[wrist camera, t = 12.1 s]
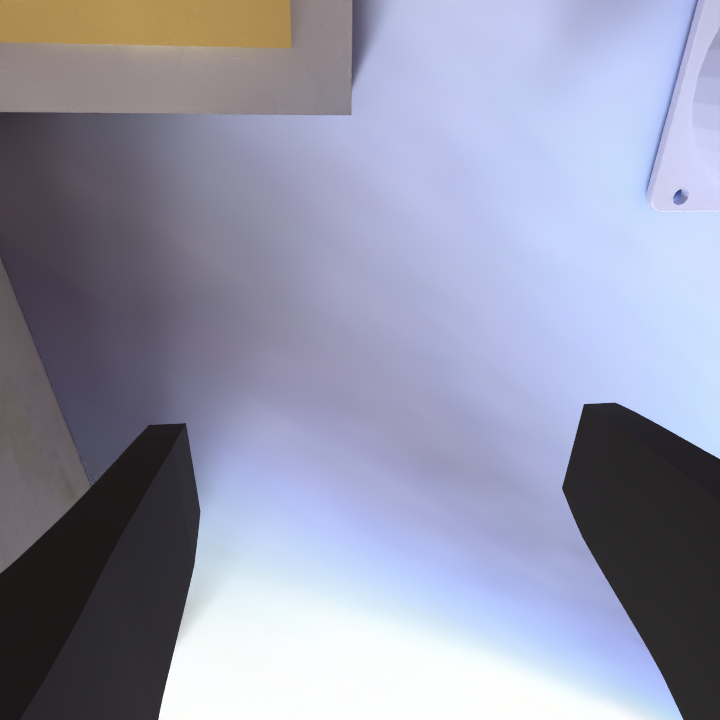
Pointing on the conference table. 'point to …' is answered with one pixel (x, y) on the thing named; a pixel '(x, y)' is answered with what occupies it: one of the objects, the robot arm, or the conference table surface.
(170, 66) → the panel
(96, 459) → the conference table surface
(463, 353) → the conference table surface
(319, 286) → the conference table surface
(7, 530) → the geiger counter
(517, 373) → the conference table surface
